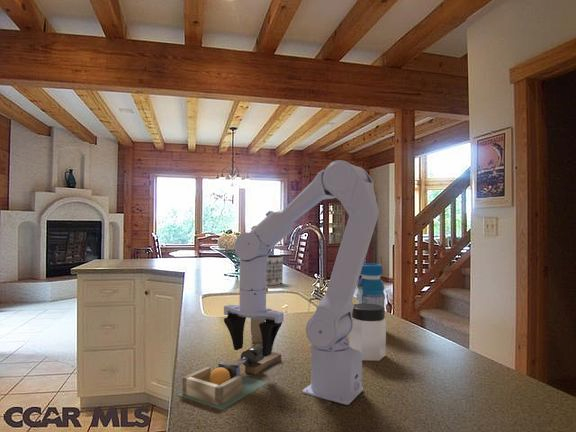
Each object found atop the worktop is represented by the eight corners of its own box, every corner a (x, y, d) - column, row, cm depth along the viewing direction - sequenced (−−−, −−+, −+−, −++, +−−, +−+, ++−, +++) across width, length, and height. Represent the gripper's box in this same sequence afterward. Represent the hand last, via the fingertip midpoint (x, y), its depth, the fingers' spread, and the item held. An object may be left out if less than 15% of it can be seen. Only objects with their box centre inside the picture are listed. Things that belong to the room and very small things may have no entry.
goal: (242, 392, 75) (242, 376, 75) (219, 405, 69) (219, 388, 69) (206, 381, 79) (206, 366, 79) (182, 393, 74) (182, 377, 74)
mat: (267, 383, 80) (267, 382, 80) (222, 411, 68) (222, 410, 68) (225, 372, 85) (225, 370, 85) (176, 396, 73) (176, 394, 73)
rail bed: (281, 360, 93) (281, 353, 93) (254, 375, 84) (254, 367, 84) (271, 358, 94) (272, 351, 94) (245, 372, 85) (245, 365, 85)
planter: (272, 286, 198) (272, 258, 199) (246, 283, 206) (246, 256, 207) (288, 282, 212) (288, 256, 212) (263, 280, 220) (263, 254, 220)
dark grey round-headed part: (250, 364, 88) (250, 343, 88) (267, 369, 86) (267, 347, 86) (218, 381, 79) (218, 357, 79) (236, 386, 77) (236, 362, 77)
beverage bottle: (373, 336, 114) (373, 266, 114) (350, 329, 120) (351, 264, 120) (390, 331, 119) (390, 265, 120) (367, 325, 126) (368, 262, 126)
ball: (235, 367, 77) (221, 372, 74) (234, 388, 77) (220, 394, 73) (219, 363, 79) (205, 368, 76) (218, 383, 79) (204, 389, 75)
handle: (260, 337, 111) (261, 284, 111) (270, 343, 105) (271, 287, 106) (244, 339, 109) (245, 285, 109) (253, 346, 103) (254, 288, 103)
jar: (381, 350, 101) (382, 303, 102) (389, 361, 93) (390, 310, 93) (346, 349, 101) (347, 302, 102) (351, 360, 93) (352, 310, 94)
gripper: (291, 289, 85) (290, 352, 85) (237, 283, 92) (237, 341, 92) (273, 294, 79) (272, 362, 79) (217, 287, 86) (217, 350, 86)
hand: (252, 352), depth 85 cm, fingers open, 7 cm apart
